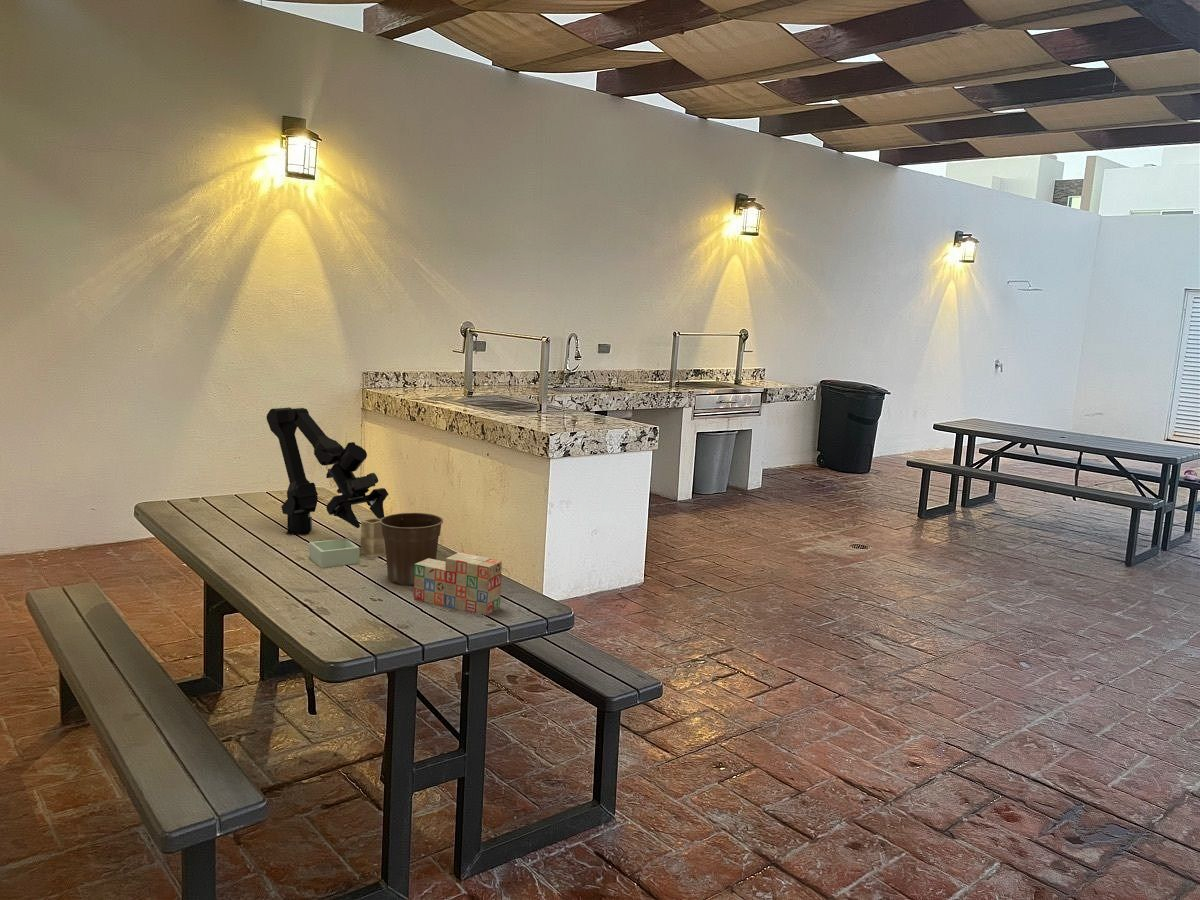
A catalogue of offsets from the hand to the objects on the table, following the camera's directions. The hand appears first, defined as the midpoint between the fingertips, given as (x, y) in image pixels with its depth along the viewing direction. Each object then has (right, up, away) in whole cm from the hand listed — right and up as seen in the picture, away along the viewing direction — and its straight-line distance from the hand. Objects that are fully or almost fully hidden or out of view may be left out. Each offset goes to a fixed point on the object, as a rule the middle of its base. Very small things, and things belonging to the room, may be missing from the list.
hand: (371, 524), depth 262 cm
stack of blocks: (+30, -17, -37) cm, 51 cm away
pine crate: (0, -9, +1) cm, 9 cm away
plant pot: (+15, -13, -20) cm, 28 cm away
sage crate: (-9, -9, -7) cm, 15 cm away
